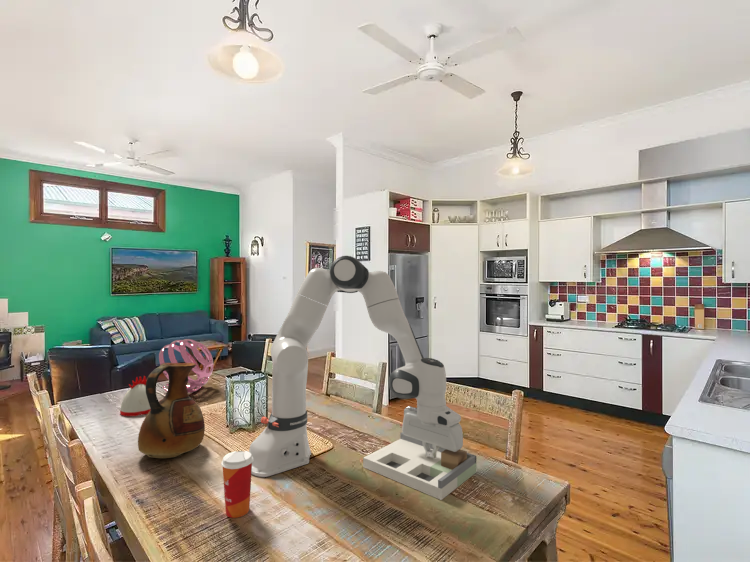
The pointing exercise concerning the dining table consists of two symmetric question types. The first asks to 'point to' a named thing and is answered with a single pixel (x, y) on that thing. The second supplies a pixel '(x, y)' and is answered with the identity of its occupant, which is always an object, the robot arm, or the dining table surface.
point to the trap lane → (419, 467)
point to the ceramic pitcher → (171, 415)
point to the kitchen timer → (135, 399)
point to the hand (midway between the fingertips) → (430, 456)
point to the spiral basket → (190, 359)
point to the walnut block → (452, 458)
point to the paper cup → (237, 482)
